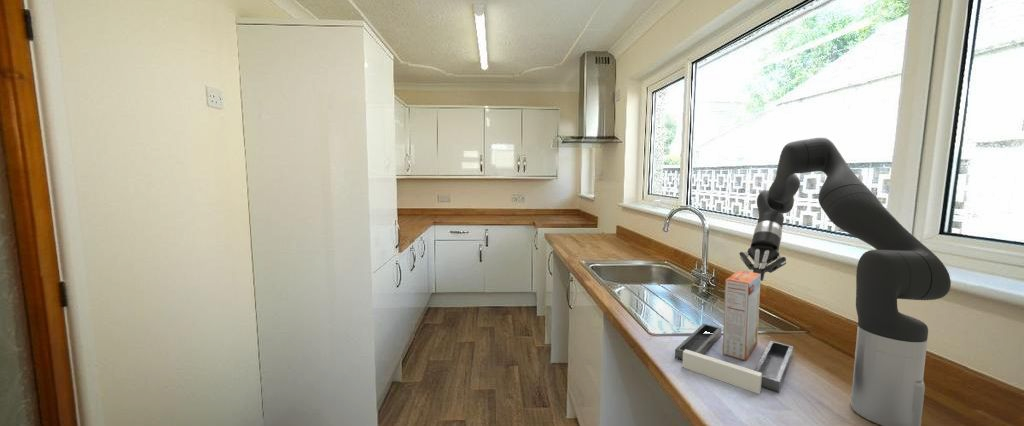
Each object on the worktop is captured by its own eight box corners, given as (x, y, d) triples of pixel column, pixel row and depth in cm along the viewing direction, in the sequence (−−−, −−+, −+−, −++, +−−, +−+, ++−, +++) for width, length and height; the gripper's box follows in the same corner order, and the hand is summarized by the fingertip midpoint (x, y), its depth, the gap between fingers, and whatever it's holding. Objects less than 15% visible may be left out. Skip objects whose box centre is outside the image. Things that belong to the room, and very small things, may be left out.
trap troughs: (792, 355, 95) (793, 346, 94) (778, 393, 77) (779, 382, 77) (703, 331, 110) (703, 323, 110) (674, 358, 93) (675, 349, 92)
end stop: (760, 390, 78) (762, 373, 78) (759, 394, 77) (760, 376, 77) (685, 364, 90) (685, 349, 89) (682, 367, 88) (682, 351, 88)
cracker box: (733, 338, 105) (737, 269, 103) (758, 344, 101) (762, 273, 99) (720, 354, 95) (724, 278, 93) (746, 362, 91) (751, 282, 89)
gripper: (742, 228, 120) (731, 269, 112) (791, 232, 111) (782, 277, 103) (744, 242, 124) (734, 282, 116) (792, 247, 115) (784, 291, 107)
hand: (757, 280), depth 110 cm, fingers closed
